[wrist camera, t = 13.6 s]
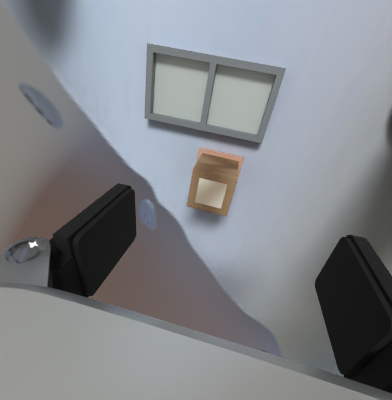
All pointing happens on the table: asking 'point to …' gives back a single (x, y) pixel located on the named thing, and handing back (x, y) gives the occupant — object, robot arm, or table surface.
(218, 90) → the cubby strip
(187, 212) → the table surface
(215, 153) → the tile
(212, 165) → the brown labeled box
